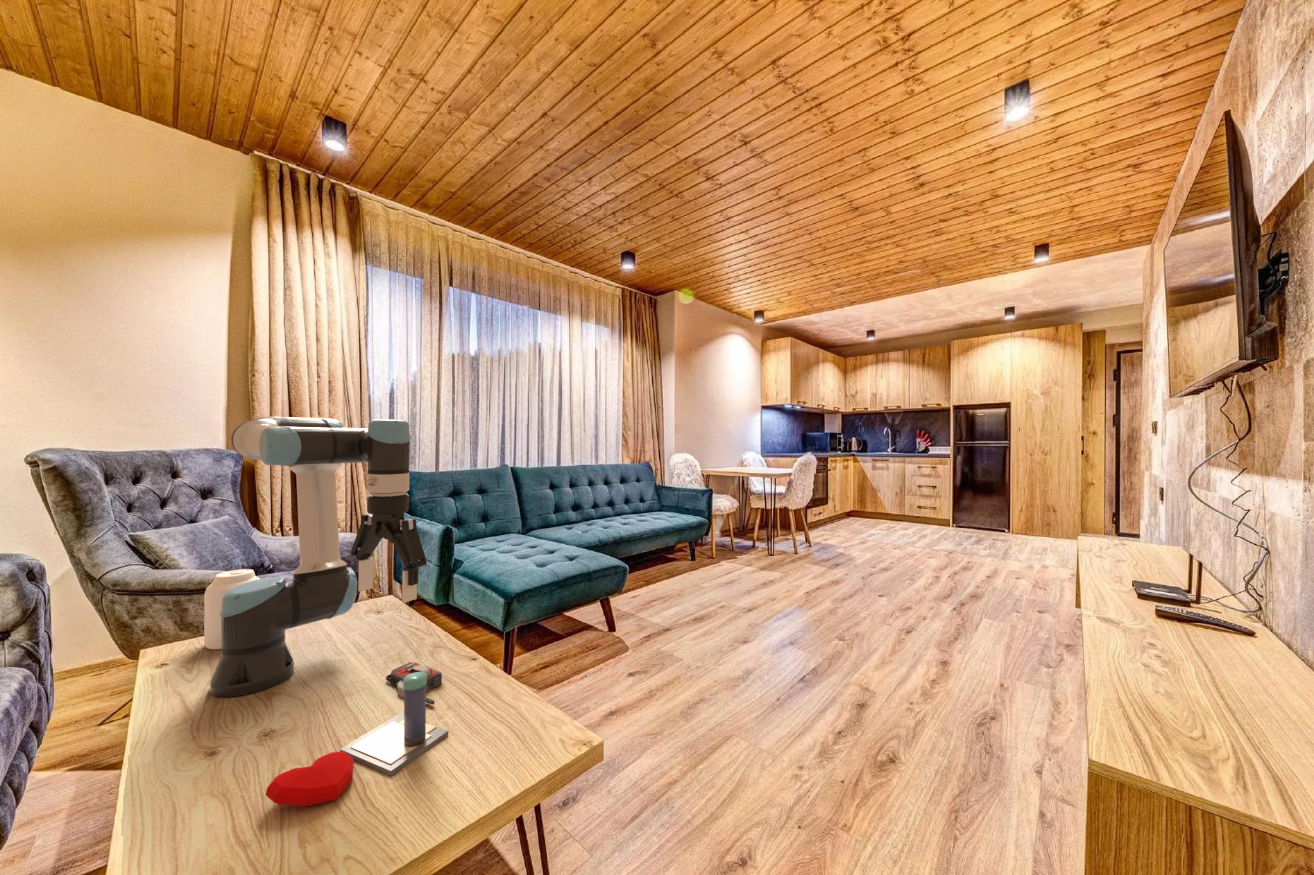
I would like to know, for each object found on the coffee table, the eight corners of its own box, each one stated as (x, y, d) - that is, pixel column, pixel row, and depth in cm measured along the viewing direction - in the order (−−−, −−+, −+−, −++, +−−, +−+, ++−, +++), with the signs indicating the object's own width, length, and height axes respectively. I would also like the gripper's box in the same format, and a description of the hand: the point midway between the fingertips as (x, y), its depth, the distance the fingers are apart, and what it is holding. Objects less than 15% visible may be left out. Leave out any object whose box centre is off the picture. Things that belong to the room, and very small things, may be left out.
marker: (398, 744, 86) (398, 679, 86) (416, 732, 89) (417, 670, 89) (412, 750, 84) (413, 684, 84) (431, 737, 88) (431, 674, 88)
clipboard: (339, 753, 85) (339, 748, 85) (399, 717, 96) (399, 712, 96) (391, 775, 79) (390, 770, 79) (448, 734, 90) (448, 729, 90)
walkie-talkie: (376, 687, 108) (428, 712, 98) (376, 668, 108) (428, 691, 98) (412, 671, 116) (464, 692, 106) (412, 653, 116) (464, 673, 106)
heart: (371, 790, 78) (336, 765, 82) (376, 763, 78) (342, 740, 83) (292, 831, 67) (257, 801, 72) (299, 800, 68) (264, 772, 72)
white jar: (262, 628, 142) (262, 563, 142) (263, 641, 132) (264, 572, 133) (205, 640, 133) (205, 571, 133) (203, 655, 124) (203, 581, 124)
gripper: (332, 491, 97) (330, 590, 97) (414, 500, 87) (412, 611, 87) (367, 487, 104) (365, 580, 104) (446, 495, 94) (445, 599, 94)
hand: (387, 595), depth 96 cm, fingers open, 13 cm apart
